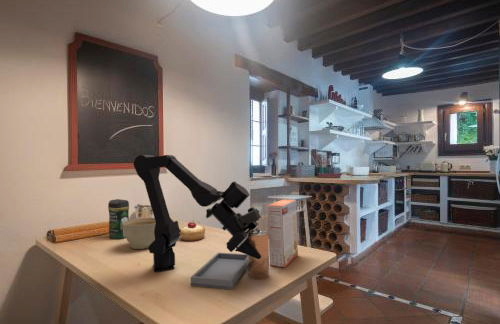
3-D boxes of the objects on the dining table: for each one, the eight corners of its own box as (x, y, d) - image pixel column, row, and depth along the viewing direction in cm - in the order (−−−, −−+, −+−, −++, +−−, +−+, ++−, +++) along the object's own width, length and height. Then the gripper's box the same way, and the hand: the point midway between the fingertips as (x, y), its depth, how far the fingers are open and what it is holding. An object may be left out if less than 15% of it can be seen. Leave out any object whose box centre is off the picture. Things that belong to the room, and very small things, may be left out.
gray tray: (190, 285, 81) (190, 277, 81) (218, 259, 102) (217, 252, 102) (232, 289, 78) (231, 280, 78) (251, 261, 99) (251, 254, 99)
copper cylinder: (253, 281, 83) (252, 233, 83) (245, 273, 89) (244, 229, 89) (272, 277, 86) (271, 231, 86) (263, 269, 92) (262, 226, 91)
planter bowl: (164, 248, 117) (163, 222, 117) (122, 254, 111) (121, 227, 111) (161, 239, 132) (160, 216, 132) (124, 243, 126) (123, 219, 126)
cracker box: (283, 253, 107) (282, 198, 107) (298, 255, 104) (297, 199, 104) (268, 265, 95) (266, 204, 95) (284, 268, 92) (283, 205, 92)
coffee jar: (106, 237, 136) (104, 199, 136) (120, 234, 143) (119, 197, 143) (118, 240, 131) (117, 201, 131) (132, 236, 138) (131, 198, 138)
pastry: (179, 237, 136) (178, 219, 136) (204, 234, 139) (203, 216, 139) (180, 243, 124) (179, 223, 124) (207, 240, 127) (206, 220, 128)
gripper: (236, 205, 79) (275, 246, 76) (251, 196, 97) (284, 229, 95) (210, 231, 81) (248, 272, 78) (231, 218, 99) (262, 251, 97)
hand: (262, 254), depth 87 cm, fingers closed on copper cylinder, 6 cm apart
